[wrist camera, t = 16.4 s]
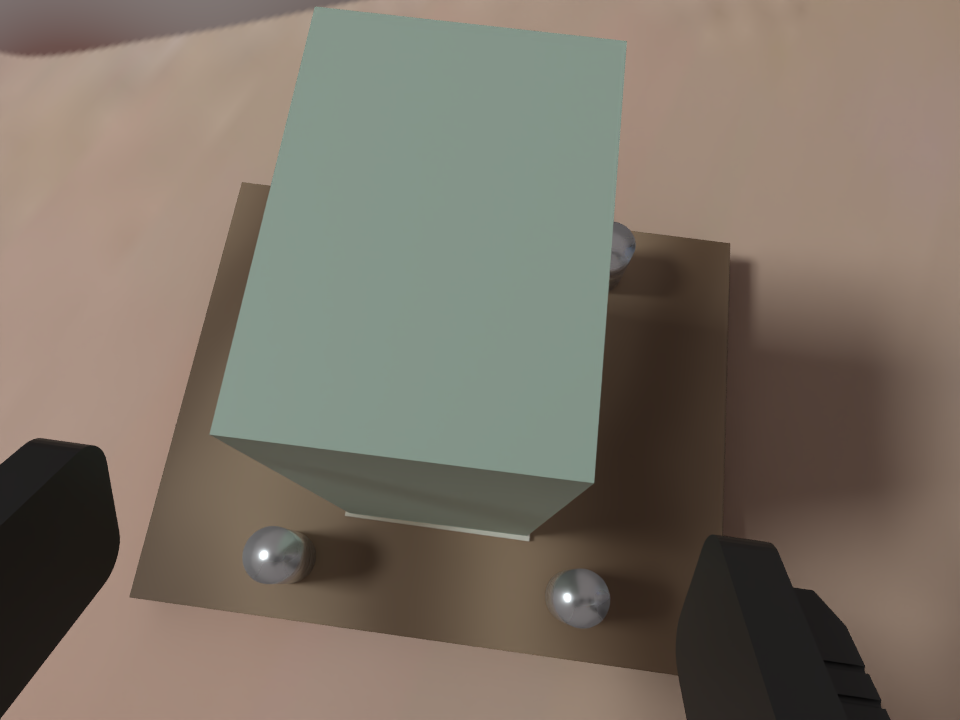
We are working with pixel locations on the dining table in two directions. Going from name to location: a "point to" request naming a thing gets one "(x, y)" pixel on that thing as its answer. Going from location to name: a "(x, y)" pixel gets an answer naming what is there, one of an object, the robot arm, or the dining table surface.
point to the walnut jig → (469, 552)
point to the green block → (433, 273)
